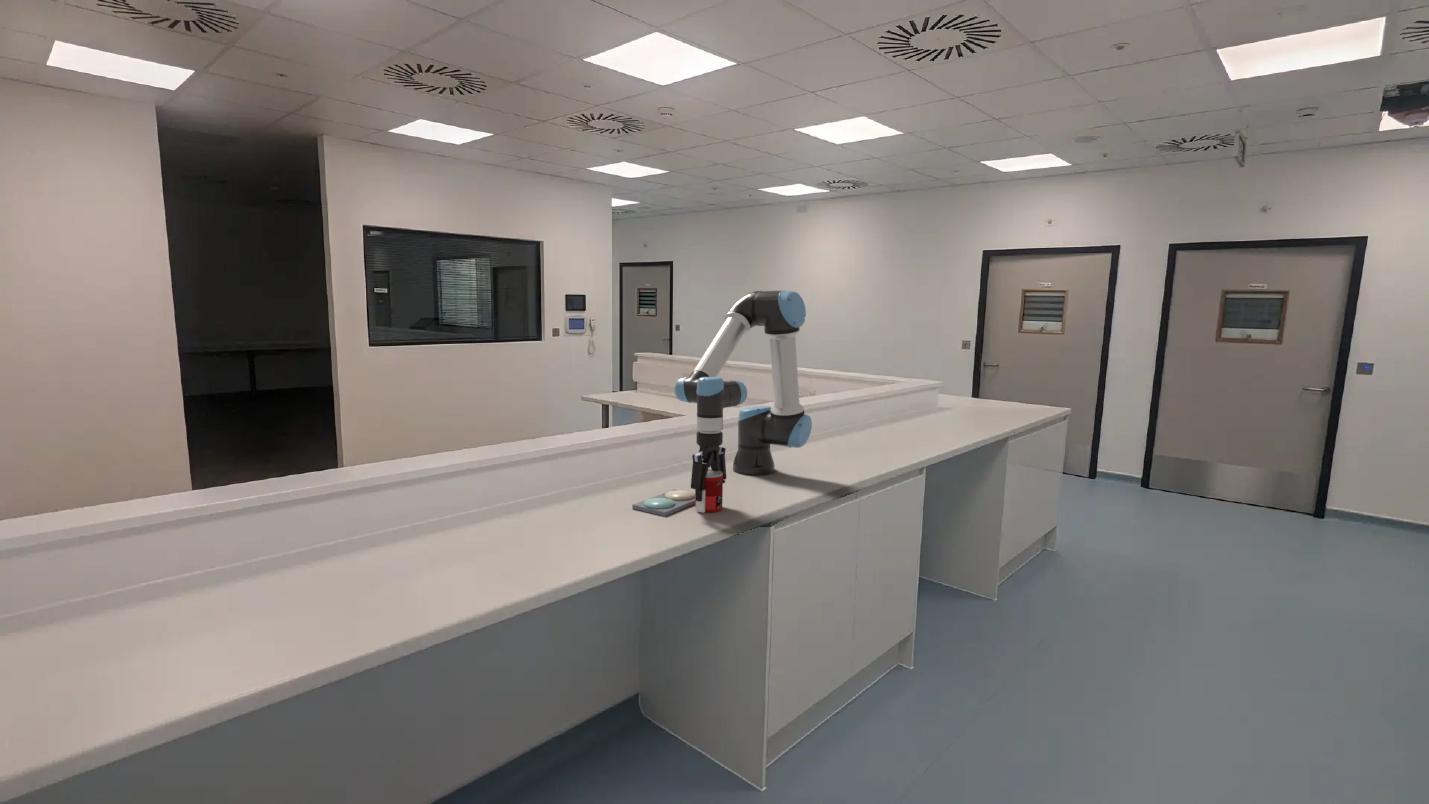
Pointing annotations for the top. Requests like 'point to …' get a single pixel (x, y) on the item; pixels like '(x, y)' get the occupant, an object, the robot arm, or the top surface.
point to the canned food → (713, 491)
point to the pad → (659, 503)
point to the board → (679, 496)
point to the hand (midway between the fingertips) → (708, 507)
